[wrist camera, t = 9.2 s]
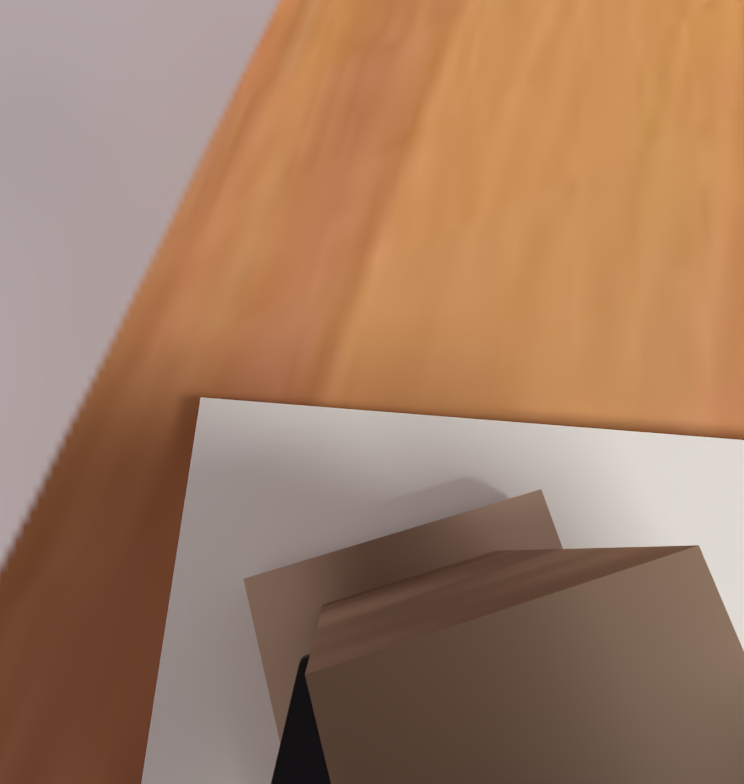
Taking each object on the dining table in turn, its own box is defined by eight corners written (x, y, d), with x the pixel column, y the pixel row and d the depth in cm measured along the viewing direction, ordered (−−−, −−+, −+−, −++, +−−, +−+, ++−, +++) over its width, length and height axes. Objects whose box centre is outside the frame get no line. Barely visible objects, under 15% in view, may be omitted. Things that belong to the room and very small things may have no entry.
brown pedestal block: (515, 497, 15) (784, 410, 6) (600, 740, 14) (1123, 1106, 5) (255, 575, 14) (115, 612, 5) (317, 845, 13) (274, 1559, 4)
